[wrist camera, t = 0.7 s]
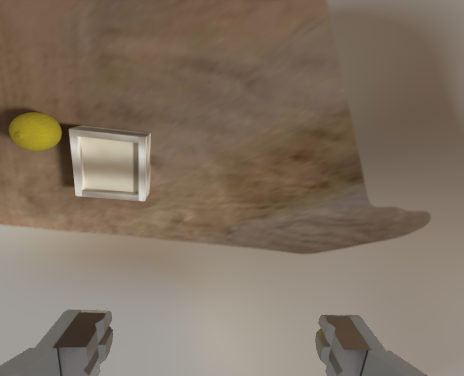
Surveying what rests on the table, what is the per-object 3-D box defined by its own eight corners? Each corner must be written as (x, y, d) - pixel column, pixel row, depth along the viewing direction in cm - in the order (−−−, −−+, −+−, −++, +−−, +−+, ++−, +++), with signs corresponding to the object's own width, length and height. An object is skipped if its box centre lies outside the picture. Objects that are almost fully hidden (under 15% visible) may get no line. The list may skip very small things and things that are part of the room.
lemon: (78, 135, 41) (50, 145, 33) (50, 150, 41) (16, 163, 34) (55, 104, 38) (20, 107, 31) (26, 119, 39) (-16, 126, 31)
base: (81, 125, 40) (68, 128, 36) (150, 133, 42) (145, 137, 38) (87, 186, 44) (75, 195, 40) (149, 191, 46) (144, 201, 42)
